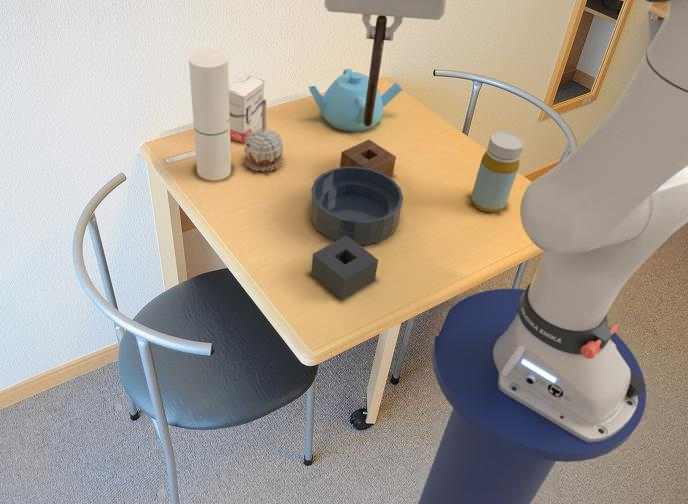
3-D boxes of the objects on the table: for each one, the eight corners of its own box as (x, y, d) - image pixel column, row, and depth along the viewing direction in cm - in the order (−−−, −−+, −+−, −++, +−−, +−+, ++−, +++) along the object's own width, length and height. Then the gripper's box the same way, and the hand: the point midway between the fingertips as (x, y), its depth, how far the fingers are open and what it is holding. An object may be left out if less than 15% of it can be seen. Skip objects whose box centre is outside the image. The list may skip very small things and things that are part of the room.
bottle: (474, 189, 136) (493, 126, 126) (508, 199, 134) (529, 136, 124) (466, 207, 132) (484, 143, 121) (500, 218, 130) (522, 154, 119)
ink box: (244, 144, 145) (243, 96, 137) (225, 137, 147) (223, 89, 139) (264, 126, 151) (265, 79, 142) (246, 120, 152) (245, 73, 144)
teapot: (371, 145, 147) (377, 100, 139) (304, 121, 153) (307, 77, 145) (399, 115, 156) (407, 72, 149) (336, 94, 163) (340, 51, 155)
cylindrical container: (235, 163, 140) (232, 52, 123) (225, 182, 135) (221, 69, 117) (203, 158, 141) (196, 47, 124) (192, 177, 136) (183, 64, 118)
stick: (373, 126, 127) (389, 15, 112) (367, 129, 126) (382, 17, 111) (367, 122, 128) (382, 11, 113) (360, 125, 127) (375, 14, 112)
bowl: (416, 223, 127) (421, 198, 123) (351, 259, 119) (355, 234, 115) (355, 180, 137) (358, 156, 133) (291, 211, 129) (293, 187, 125)
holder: (392, 176, 138) (396, 156, 135) (365, 190, 135) (368, 170, 131) (366, 158, 143) (369, 139, 139) (339, 171, 139) (341, 151, 136)
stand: (374, 280, 116) (378, 259, 112) (341, 300, 112) (344, 279, 108) (344, 255, 120) (346, 235, 117) (310, 274, 116) (312, 253, 113)
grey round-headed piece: (258, 148, 144) (258, 86, 134) (288, 160, 141) (291, 97, 131) (238, 165, 139) (236, 102, 129) (269, 177, 136) (270, 114, 126)
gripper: (325, -43, 104) (319, 41, 113) (455, -33, 103) (438, 51, 112) (327, -56, 108) (321, 26, 118) (452, -47, 107) (435, 35, 117)
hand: (379, 38), depth 115 cm, fingers closed on stick, 2 cm apart
